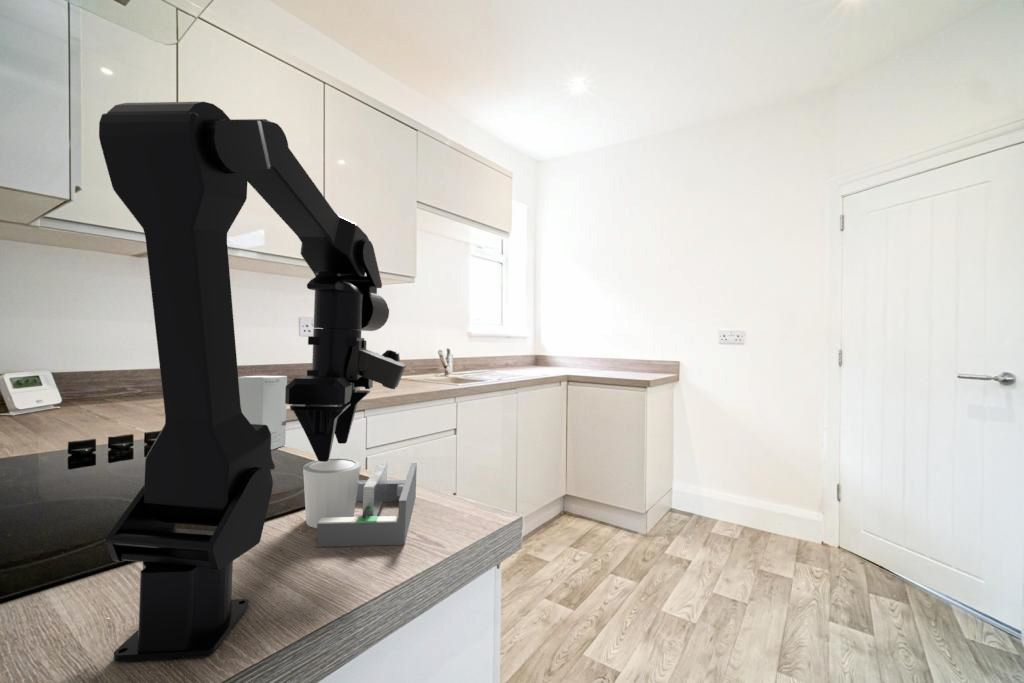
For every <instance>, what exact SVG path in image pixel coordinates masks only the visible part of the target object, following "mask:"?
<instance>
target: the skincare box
mask: <svg viewBox="0 0 1024 683" xmlns="http://www.w3.org/2000/svg"><path fill="white" fill-rule="evenodd" d="M238 381H239V393H240V405H241V411H242V413H243V415H244V416H245V417H246V419H247V420H248V421H249V422H250V424H260V425H267V426H268V428H269V430H270V433H271V451H272V450H275V449H278V448H281V447H284V446H285V445H286V439H287V438H286V436H287V435H286V431H287V428H286V427H287V404H285V392H286V386H287V385H288V376H287V375H246V376H238Z"/></svg>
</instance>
